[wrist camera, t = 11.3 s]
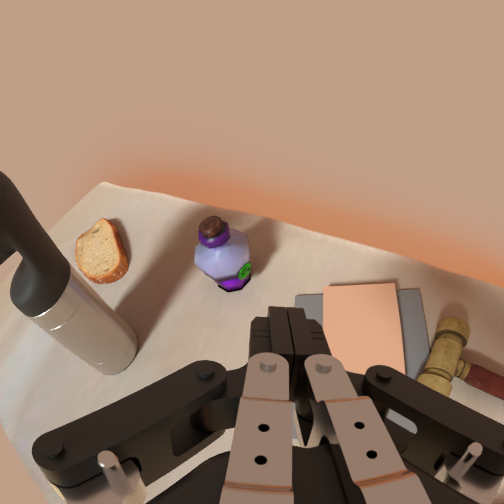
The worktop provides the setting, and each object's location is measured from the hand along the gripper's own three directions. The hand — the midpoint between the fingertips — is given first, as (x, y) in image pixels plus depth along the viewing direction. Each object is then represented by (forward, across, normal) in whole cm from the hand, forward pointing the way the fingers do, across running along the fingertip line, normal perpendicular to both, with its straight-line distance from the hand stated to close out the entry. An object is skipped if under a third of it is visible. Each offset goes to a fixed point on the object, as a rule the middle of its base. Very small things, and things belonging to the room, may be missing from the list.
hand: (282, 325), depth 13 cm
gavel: (+10, -29, +16) cm, 35 cm away
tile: (+15, -12, +17) cm, 26 cm away
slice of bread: (+48, +33, +14) cm, 60 cm away
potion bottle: (+35, +4, +12) cm, 37 cm away
